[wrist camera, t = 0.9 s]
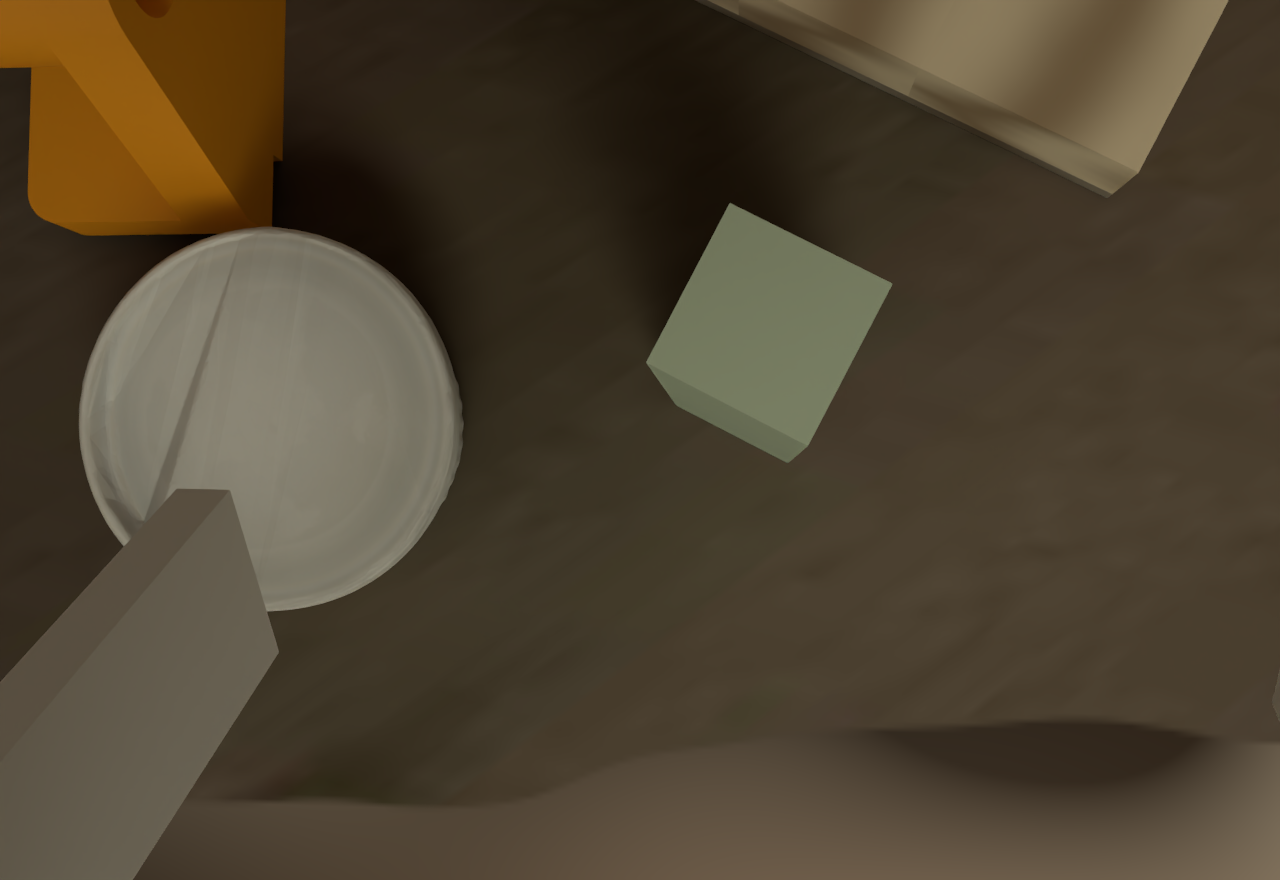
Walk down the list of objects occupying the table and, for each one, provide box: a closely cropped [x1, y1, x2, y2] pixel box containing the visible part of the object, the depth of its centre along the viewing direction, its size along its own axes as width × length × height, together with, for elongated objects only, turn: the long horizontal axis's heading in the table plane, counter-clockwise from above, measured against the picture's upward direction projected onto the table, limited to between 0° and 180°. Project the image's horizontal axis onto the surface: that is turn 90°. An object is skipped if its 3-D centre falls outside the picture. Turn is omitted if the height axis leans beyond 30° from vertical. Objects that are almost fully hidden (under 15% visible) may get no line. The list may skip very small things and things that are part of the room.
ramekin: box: [79, 227, 464, 611], centre depth 37 cm, size 11×11×5 cm
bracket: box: [0, 0, 286, 235], centre depth 35 cm, size 11×7×12 cm
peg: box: [646, 203, 892, 463], centre depth 32 cm, size 4×4×12 cm
